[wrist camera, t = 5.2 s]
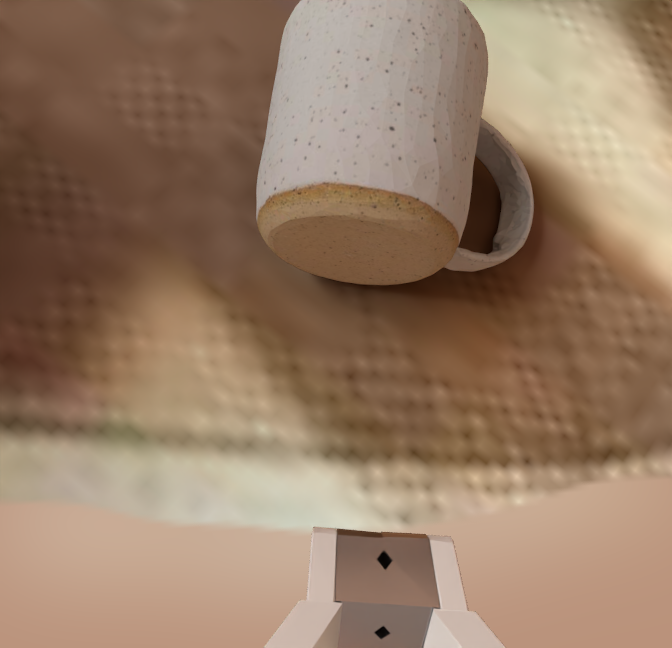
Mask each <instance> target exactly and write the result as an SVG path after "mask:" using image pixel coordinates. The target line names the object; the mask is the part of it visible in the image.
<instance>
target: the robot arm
mask: <svg viewBox="0 0 672 648" xmlns="http://www.w3.org/2000/svg"><path fill="white" fill-rule="evenodd" d="M307 590H308V591H307V600H299V601H298V603H297V604H296V605H295V607H294V608H293V609H292V611H291V612H290V613H289V615H288V616H287V617H286V619H285V620H284V621H283V622H282V624H281V625H280V627H279V628H278V629H277V631H276V632H275V633H274V634H273V636H272V637H271V638H270V640H269V641H268V642H267V644H266V645H265V646H264V648H506V647H505V646H504V645H503V644H502V642H501V641H500V640H499V639H498V638H497V636H496V635H495V634H494V633H493V632H492V630H491V629H490V628H489V627H488V626H487V625H486V623H485V622H484V621H483V620H482V618H481V617H480V616H479V615H478V614H477V612H475V611H469V610H468V607H467V602H466V597H465V592H464V588H463V583H462V578H461V574H460V569H459V564H458V560H457V556H456V551H455V546H454V542H453V540H452V538H451V537H450V536H436V535H426V534H412V533H392V532H381V533H377V532H367V531H356V530H345V529H337V530H336V529H334V528H321V527H313V532H312V541H311V554H310V565H309V577H308V589H307Z"/></svg>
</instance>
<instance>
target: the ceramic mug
mask: <svg viewBox="0 0 672 648" xmlns="http://www.w3.org/2000/svg"><path fill="white" fill-rule="evenodd" d="M487 75H488V53H487V47H486V41H485V36H484V33H483V31H482V29H481V27H480V25H479V24H478V22H477V21H476V19H475V18H474V16H473V15H472V14H471V12H470V11H469V9H468V8H467V7H466V5H465V4H464V3H462V2H461V1H460V0H301V1H300V2H299V3H298V5H297V6H296V7H295V9H294V10H293V12H292V14H291V16H290V18H289V19H288V21H287V23H286V26H285V29H284V32H283V36H282V41H281V47H280V54H279V61H278V67H277V72H276V77H275V83H274V88H273V93H272V99H271V105H270V110H269V117H268V124H267V131H266V138H265V143H264V147H263V152H262V157H261V162H260V166H259V172H258V178H257V191H256V196H257V209H256V219H257V225H258V229H259V231H260V234H261V236H262V238H263V239H264V241H265V242H266V244H267V245H268V246H269V248H270V249H271V250H272V251H273V252H274V253H275V254H276V255H277V256H279V257H280V258H281V259H283V260H284V261H286V262H287V263H289V264H291V265H293V266H295V267H297V268H299V269H301V270H303V271H306V272H308V273H311V274H313V275H317V276H321V277H325V278H329V279H333V280H336V281H341V282H349V283H356V284H365V285H394V284H403V283H409V282H415V281H418V280H420V279H423V278H426V277H428V276H431V275H433V274H434V273H436V272H437V271H439V270H440V269H441V268H443V267H445V268H447V269H450V270H454V271H470V272H473V271H478V270H482V269H485V268H489V267H492V266H495V265H497V264H499V263H502V262H504V261H505V260H507V259H509V258H510V257H512V256H513V255H514V254H515V253H516V252H517V251H518V250H519V249H520V248H521V247H522V246H523V245H524V243H525V241H526V239H527V237H528V234H529V232H530V229H531V225H532V220H533V213H534V198H533V191H532V186H531V182H530V178H529V176H528V173H527V170H526V168H525V166H524V164H523V162H522V160H521V159H520V157H519V156H518V154H517V153H516V151H515V150H514V148H513V147H512V146H511V144H510V143H509V142H508V141H507V140H506V139H505V138H504V137H503V136H502V135H501V134H500V133H499V131H498V130H497V129H495V128H494V127H493V126H491V125H490V124H489V123H487V122H486V121H485V120H483V119H482V118H481V114H482V108H483V102H484V96H485V90H486V82H487ZM475 156H476V157H477V158H478V159H479V160H480V161H481V162H482V163H483V164H484V166H485V167H486V168H487V169H488V171H489V172H490V174H491V175H492V177H493V179H494V181H495V183H496V185H497V186H498V188H499V191H500V198H501V201H502V208H501V214H500V220H499V225H498V230H497V234H496V235H495V236H494V237H493V251H492V252H491V253H490V254H483V253H476V252H471V251H469V250H467V249H462V248H459V247H458V245H459V243H460V240H461V237H462V234H463V231H464V228H465V225H466V220H467V216H468V211H469V205H470V197H471V189H472V176H473V165H474V159H475Z"/></svg>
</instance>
